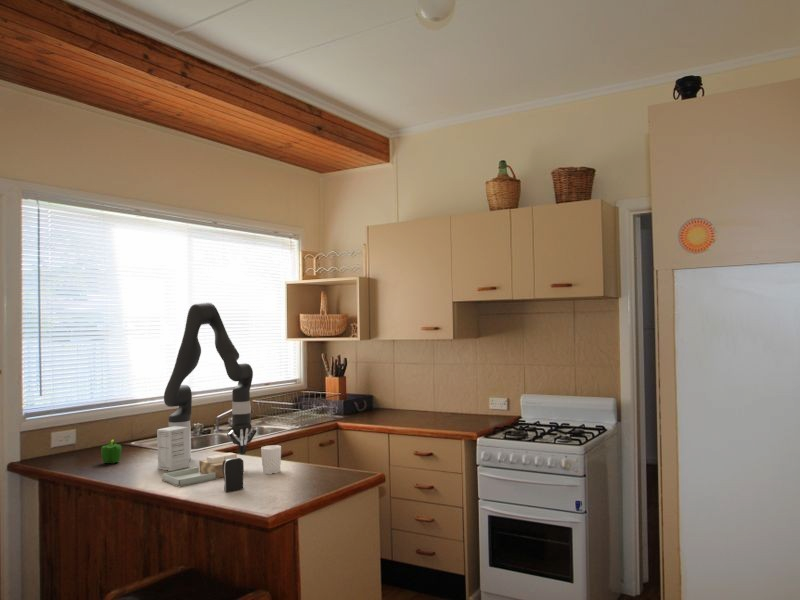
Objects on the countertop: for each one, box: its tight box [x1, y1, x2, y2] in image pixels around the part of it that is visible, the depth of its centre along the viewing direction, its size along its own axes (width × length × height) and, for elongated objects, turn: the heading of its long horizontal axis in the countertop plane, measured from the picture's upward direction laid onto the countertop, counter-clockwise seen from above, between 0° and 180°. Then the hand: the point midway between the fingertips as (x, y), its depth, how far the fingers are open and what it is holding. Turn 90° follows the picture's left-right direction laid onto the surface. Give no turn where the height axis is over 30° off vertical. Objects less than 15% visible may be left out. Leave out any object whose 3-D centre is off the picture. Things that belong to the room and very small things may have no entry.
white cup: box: [260, 444, 282, 475], centre depth 251 cm, size 8×8×10 cm
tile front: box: [206, 454, 224, 464], centre depth 250 cm, size 5×5×2 cm
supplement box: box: [156, 426, 190, 472], centre depth 264 cm, size 10×9×17 cm
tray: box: [161, 466, 217, 487], centre depth 243 cm, size 15×15×2 cm
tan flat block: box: [199, 458, 245, 479], centre depth 252 cm, size 14×12×5 cm
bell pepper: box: [100, 439, 123, 464], centre depth 279 cm, size 8×8×10 cm
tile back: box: [219, 452, 238, 460], centre depth 254 cm, size 5×5×2 cm
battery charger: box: [222, 457, 244, 493], centre depth 225 cm, size 7×4×11 cm, turn 131°
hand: (242, 454), depth 259 cm, fingers closed
